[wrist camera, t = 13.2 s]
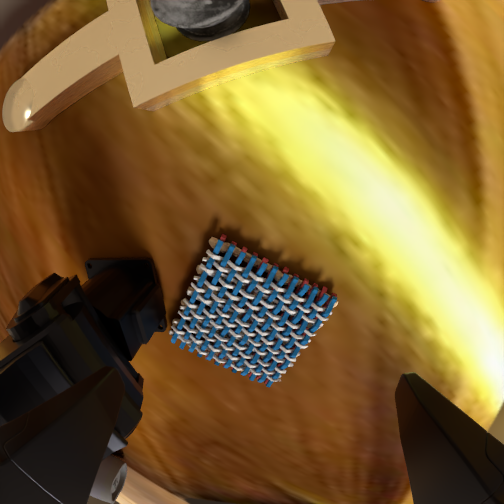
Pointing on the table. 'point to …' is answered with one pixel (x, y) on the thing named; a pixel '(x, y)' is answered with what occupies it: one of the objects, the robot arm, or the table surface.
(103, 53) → the square wooden loop
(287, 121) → the table surface
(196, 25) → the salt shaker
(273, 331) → the woven mat
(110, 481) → the bluetooth speaker
